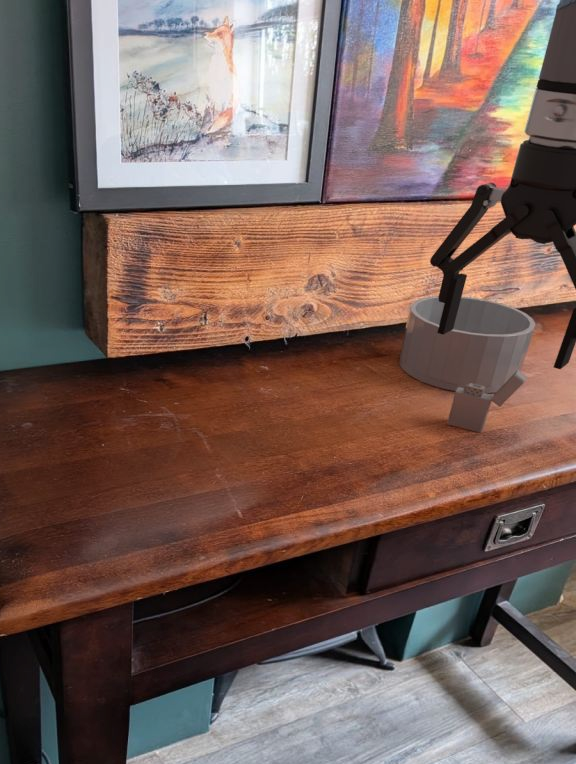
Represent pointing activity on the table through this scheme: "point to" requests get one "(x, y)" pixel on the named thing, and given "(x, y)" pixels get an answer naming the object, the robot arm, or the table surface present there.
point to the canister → (465, 344)
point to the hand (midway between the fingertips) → (500, 347)
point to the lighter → (479, 403)
